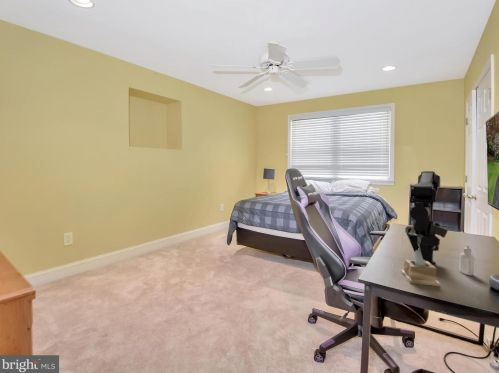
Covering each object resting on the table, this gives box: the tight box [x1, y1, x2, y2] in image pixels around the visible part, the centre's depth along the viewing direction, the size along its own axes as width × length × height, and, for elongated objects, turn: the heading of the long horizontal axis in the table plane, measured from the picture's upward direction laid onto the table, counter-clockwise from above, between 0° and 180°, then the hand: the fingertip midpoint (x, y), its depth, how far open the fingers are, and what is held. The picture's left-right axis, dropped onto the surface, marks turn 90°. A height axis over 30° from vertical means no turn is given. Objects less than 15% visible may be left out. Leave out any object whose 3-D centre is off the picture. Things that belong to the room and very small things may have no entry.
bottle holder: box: [400, 259, 441, 287], centre depth 109 cm, size 12×10×6 cm
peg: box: [414, 249, 425, 266], centre depth 109 cm, size 4×4×10 cm
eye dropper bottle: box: [458, 244, 476, 276], centre depth 114 cm, size 4×6×12 cm
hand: (420, 256), depth 109 cm, fingers open, 9 cm apart
